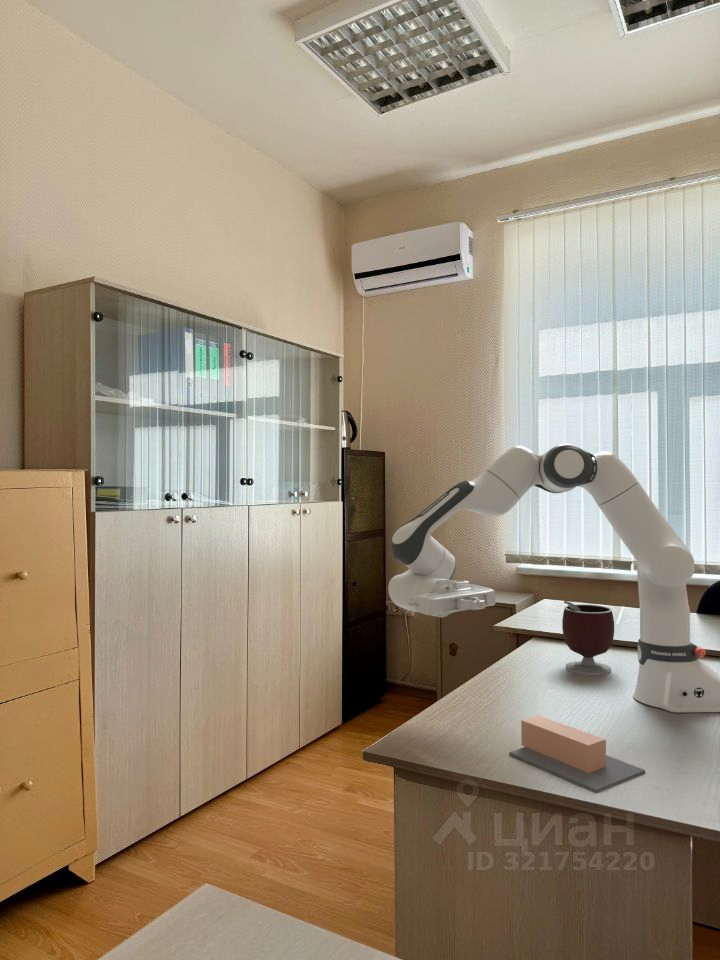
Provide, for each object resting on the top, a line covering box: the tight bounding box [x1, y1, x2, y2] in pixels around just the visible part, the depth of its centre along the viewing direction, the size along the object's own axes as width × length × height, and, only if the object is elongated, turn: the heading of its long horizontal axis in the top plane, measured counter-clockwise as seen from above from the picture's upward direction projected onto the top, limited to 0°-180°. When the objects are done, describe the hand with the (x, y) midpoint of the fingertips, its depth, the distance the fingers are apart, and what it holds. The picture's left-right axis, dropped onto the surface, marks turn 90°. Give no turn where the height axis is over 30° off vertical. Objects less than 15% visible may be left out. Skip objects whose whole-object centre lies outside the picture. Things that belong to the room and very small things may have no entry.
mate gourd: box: [561, 600, 615, 676], centre depth 194 cm, size 16×14×20 cm
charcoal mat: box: [508, 746, 646, 793], centre depth 130 cm, size 20×14×1 cm
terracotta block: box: [520, 714, 607, 773], centre depth 132 cm, size 5×5×16 cm
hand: (480, 605), depth 151 cm, fingers closed
